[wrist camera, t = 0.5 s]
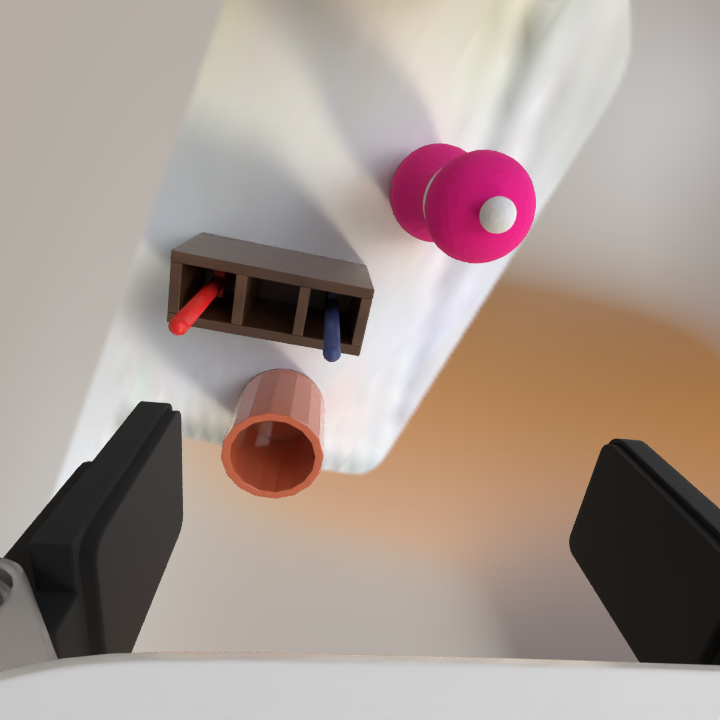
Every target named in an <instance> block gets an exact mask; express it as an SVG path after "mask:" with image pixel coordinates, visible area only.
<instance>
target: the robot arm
mask: <svg viewBox="0 0 720 720" xmlns="http://www.w3.org/2000/svg"><path fill="white" fill-rule="evenodd" d="M182 494H183V489H182V436H181V414H180V412H179V411H172V406H171V404H170V403H157V402H144V401H141V402H140V403H139V404H138V405H137V406H136V407H135V409H134V410H133V411H132V412H131V414H130V415H129V416H128V417H127V419H126V420H125V421H124V422H123V424H122V425H121V426H120V427H119V429H118V430H117V431H116V432H115V434H114V435H113V436H112V438H111V439H110V440H109V441H108V443H107V444H106V445H105V446H104V448H103V449H102V450H101V451H100V453H99V454H98V455H97V456H96V458H95V459H94V460H93V461H92V462H90V461H88V462H84V463H82V464H81V465H80V466H79V467H78V468H77V469H76V471H75V472H74V473H73V474H72V475H71V477H70V478H69V479H68V480H67V482H66V483H65V484H64V485H63V486H62V488H61V489H60V490H59V491H58V492H57V494H56V495H55V496H54V497H53V498H52V500H51V501H50V502H49V503H48V504H47V506H46V507H45V508H44V509H43V511H42V512H41V513H40V514H39V515H38V517H37V518H36V519H35V520H34V521H33V523H32V524H31V525H30V526H29V527H28V529H27V530H26V531H25V532H24V534H23V535H22V536H21V537H20V538H19V539H18V541H17V542H16V543H15V544H14V546H13V547H12V548H11V549H10V550H9V552H8V553H7V554H6V555H5V556H4V558H0V720H720V509H719V508H718V507H717V506H716V505H715V504H713V503H712V502H711V501H710V500H709V499H708V498H707V497H706V496H704V495H703V494H702V493H701V492H700V491H699V490H698V489H697V488H695V487H694V486H693V485H692V484H691V483H689V482H688V481H687V480H686V479H685V478H684V477H683V476H682V475H681V474H679V473H678V472H677V471H676V470H675V469H674V468H673V467H672V466H670V465H669V464H668V463H667V462H666V461H665V460H664V459H662V458H661V457H660V456H659V455H658V454H657V453H656V452H655V451H653V450H652V449H651V448H650V447H649V446H648V445H647V444H645V443H644V442H642V441H639V440H628V439H613V440H611V441H610V442H609V444H607V445H604V446H603V448H602V450H601V452H600V455H599V457H598V460H597V463H596V466H595V468H594V471H593V474H592V477H591V479H590V482H589V485H588V488H587V490H586V494H585V496H584V499H583V502H582V504H581V507H580V510H579V513H578V515H577V518H576V521H575V524H574V526H573V529H572V532H571V535H570V539H569V545H570V550H571V553H572V555H573V556H574V558H575V559H576V561H577V563H578V564H579V566H580V567H581V569H582V571H583V572H584V574H585V576H586V577H587V579H588V580H589V582H590V584H591V585H592V586H593V588H594V590H595V592H596V593H597V595H598V596H599V598H600V600H601V601H602V603H603V604H604V606H605V608H606V609H607V611H608V612H609V614H610V616H611V617H612V619H613V620H614V622H615V624H616V625H617V627H618V629H619V630H620V632H621V633H622V635H623V637H624V638H625V640H626V641H627V643H628V645H629V646H630V648H631V649H632V651H633V653H634V654H635V656H636V657H637V659H638V661H639V662H640V663H637V662H608V661H577V660H575V661H574V660H543V659H542V660H541V659H510V658H507V659H505V658H472V657H436V656H396V655H352V654H306V653H252V652H251V653H249V652H248V653H247V652H242V653H241V652H149V653H131V652H132V650H133V647H134V645H135V642H136V640H137V637H138V635H139V632H140V630H141V627H142V625H143V622H144V620H145V618H146V615H147V613H148V610H149V608H150V605H151V603H152V600H153V598H154V595H155V593H156V590H157V588H158V585H159V583H160V581H161V578H162V576H163V573H164V571H165V568H166V565H167V563H168V561H169V558H170V556H171V553H172V551H173V548H174V546H175V543H176V541H177V539H178V536H179V533H180V531H181V527H182V521H183V495H182Z"/></svg>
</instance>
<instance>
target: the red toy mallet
mask: <svg viewBox="0 0 720 720" xmlns="http://www.w3.org/2000/svg"><path fill="white" fill-rule="evenodd" d="M232 278H233V273H229V272H224V271H219V270H215V276H214V277H213V278H212V279H211V280H210V281H209V282H208V283H207V284H206V285H205V286H204V287H203V288H202V289H201V290H200V291H199V292H198V293H197V294H196V295H195V296H194V297H193V298H192V299H191V300H190V301H189V302H188V303H187V304H186V305H185V306H184V307H183V308H182V309H181V310H180V311H179V312H178V313H177V314H176V315H175V316H174V317H173V318H172V319H171V320H170V322H169V330H170V331H171V333H173V334H174V335H183V334H185V333H186V332H187V331H188V329H189V328H190V327H191V326H192V325H193V323H194V322H195V321H196V320H197V319H198V317H199V316H200V315H201V314H202V313H203V311H204V310H205V309H206V308H207V306H208V305H209V304H210V303H211V302H212V300H213V299H214V298H215V297H216V296H217V297H223V296H224V295H225V293H226V292H227V291H228V289H229V288H230V287H231V286H232Z"/></svg>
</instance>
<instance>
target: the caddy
mask: <svg viewBox="0 0 720 720" xmlns="http://www.w3.org/2000/svg"><path fill="white" fill-rule="evenodd" d="M171 261H172V262H171V268H170V284H169V300H168V315H167V322H170V320H171V319H172V318H173V317H174V316H175V315H176V314H177V313H178V312H179V311H180V310H181V309H182V308H183V307H184V306H185V305H186V304H187V303H188V302H189V301H190V300H191V299H192V298H193V297H194V296H195V295H196V294H197V293H198V292H199V291H200V290H201V289H202V288H203V287H204V286H205V285H206V284H207V283H208V282H209V281H210V280H211V279H212V278H213V277H214V276H215V270H219V271H224V272H229V273H233V278H232V286H231V287H230V288H229V289H228V291H227V292H226V293H225V295H224V296H223V297H217V296H216V297H215V298H214V299H213V300H212V302H211V303H210V304H209V305H208V306H207V308H206V309H205V310H204V311H203V313H202V314H201V315H200V316H199V317H198V319H197V320H196V321H195V322H194V323H193V325H192V327H197V328H203V329H209V330H214V331H220V332H226V333H231V334H237V335H243V336H249V337H254V338H260V339H266V340H271V341H277V342H283V343H288V344H294V345H300V346H305V347H311V348H317V349H322V350H323V340H324V309H325V299H326V294H327V291H328V292H333V293H338V298H337V301H338V307H339V326H340V346H341V353H345V354H351V355H356V356H359V355H360V351H361V346H362V342H363V338H364V333H365V329H366V325H367V320H368V316H369V312H370V307H371V303H372V298H373V294H374V288H373V285H372V282H371V279H370V276H369V273H368V270H367V267H366V265H361V264H356V263H352V262H347V261H342V260H337V259H332V258H327V257H322V256H317V255H312V254H307V253H302V252H297V251H292V250H287V249H282V248H277V247H272V246H267V245H262V244H257V243H252V242H248V241H243V240H238V239H233V238H228V237H223V236H218V235H213V234H208V233H201V234H199V235H197V236H196V237H194V238H192V239H190V240H189V241H187V242H185V243H184V244H182V245H180V246H178V247H177V248H175V249H173V250H172V251H171Z"/></svg>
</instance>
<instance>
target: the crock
mask: <svg viewBox="0 0 720 720" xmlns="http://www.w3.org/2000/svg"><path fill="white" fill-rule="evenodd" d="M324 413H325V409H324V402H323V397H322V394H321V392H320V390H319V389H318V387H317V386H316V385H315V383H314V382H313V381H312V380H310V379H309V378H308V377H306V376H305V375H303V374H301V373H299V372H296V371H293V370H288V369H274V370H269V371H266V372H263V373H261V374H259V375H257V376H256V377H254V378H253V379H252V380H251V381H250V382H249V383H248V384H247V386H246V387H245V389H244V391H243V393H242V394H241V396H240V399H239V401H238V404H237V406H236V409H235V412H234V414H233V417H232V420H231V422H230V425H229V428H228V430H227V433H226V435H225V438H224V441H223V446H222V455H221V459H222V462H223V464H224V467H225V470H226V473H227V475H228V476H229V477H230V478H231V479H232V480H233V481H234V482H235V484H236V485H238V487H240V488H241V489H243V490H246V491H247V492H249V493H252V494H253V495H257V496H261V497H269V498H281V497H286V496H292V495H295V494H296V493H298V492H300V491H301V490H303V489H305V488H307V487H308V486H310V485H311V483H312V482H313V481H314V479H315V478H316V477H317V475H318V474H319V473H320V470H321V466H322V461H323V453H324Z"/></svg>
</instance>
